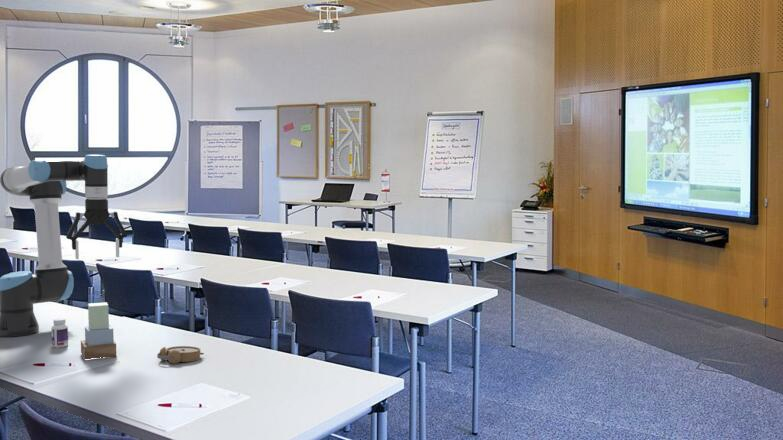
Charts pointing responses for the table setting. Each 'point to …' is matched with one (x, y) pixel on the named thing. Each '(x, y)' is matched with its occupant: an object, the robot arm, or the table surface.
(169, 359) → the alarm clock
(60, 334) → the pill bottle
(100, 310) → the green block
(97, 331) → the tower top
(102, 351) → the tower base
